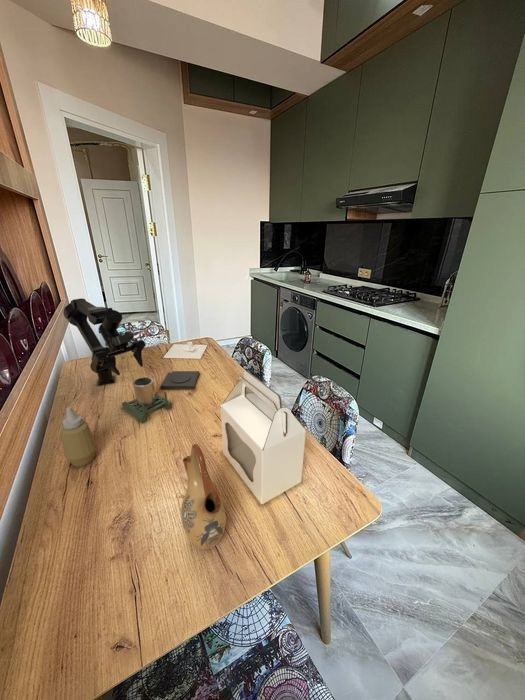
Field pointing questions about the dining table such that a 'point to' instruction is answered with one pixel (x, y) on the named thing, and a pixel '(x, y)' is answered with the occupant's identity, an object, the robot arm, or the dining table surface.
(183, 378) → the hob
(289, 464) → the gable box
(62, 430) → the squeeze bottle
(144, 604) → the dining table surface
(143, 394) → the steel pot
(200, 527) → the ceramic vessel
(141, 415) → the dish rack
